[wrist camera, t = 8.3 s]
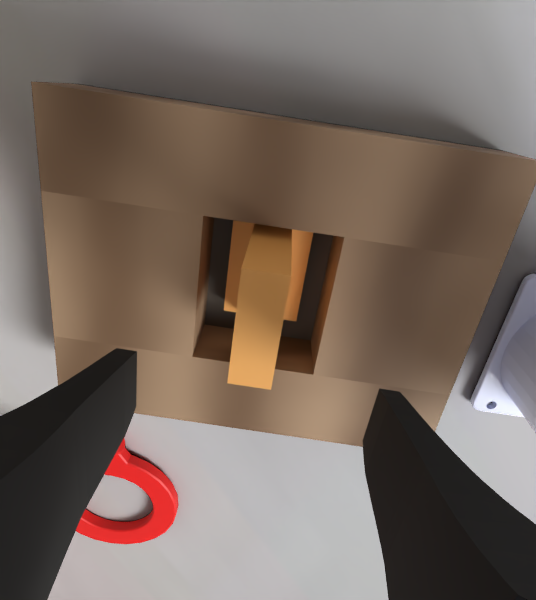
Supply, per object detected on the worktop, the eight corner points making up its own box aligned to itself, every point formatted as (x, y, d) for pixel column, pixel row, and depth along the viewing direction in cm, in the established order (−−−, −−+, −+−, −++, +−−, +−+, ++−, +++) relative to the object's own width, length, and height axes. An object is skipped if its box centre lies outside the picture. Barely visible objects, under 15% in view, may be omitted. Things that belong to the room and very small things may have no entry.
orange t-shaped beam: (236, 212, 19) (211, 263, 14) (312, 224, 19) (321, 280, 14) (226, 301, 21) (200, 379, 16) (296, 311, 21) (296, 393, 16)
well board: (501, 150, 18) (544, 162, 15) (407, 408, 24) (424, 455, 21) (77, 84, 18) (30, 81, 15) (90, 361, 24) (59, 402, 21)
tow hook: (202, 512, 30) (128, 418, 26) (148, 788, 18) (2, 694, 14) (101, 539, 32) (19, 456, 28) (-4, 804, 20) (-168, 725, 16)
